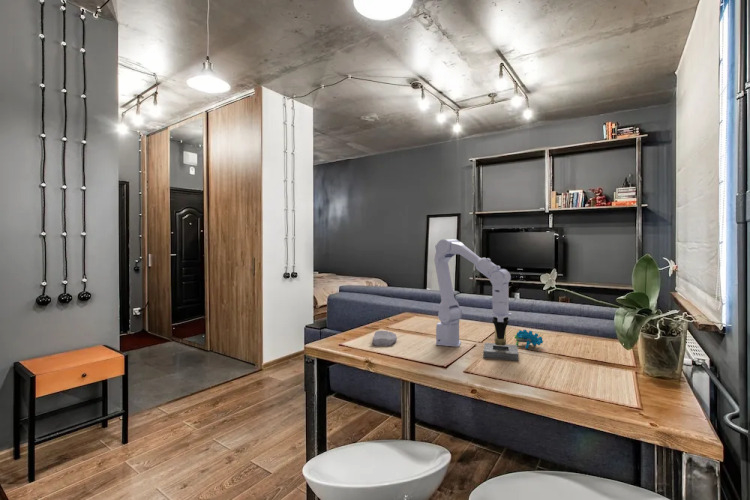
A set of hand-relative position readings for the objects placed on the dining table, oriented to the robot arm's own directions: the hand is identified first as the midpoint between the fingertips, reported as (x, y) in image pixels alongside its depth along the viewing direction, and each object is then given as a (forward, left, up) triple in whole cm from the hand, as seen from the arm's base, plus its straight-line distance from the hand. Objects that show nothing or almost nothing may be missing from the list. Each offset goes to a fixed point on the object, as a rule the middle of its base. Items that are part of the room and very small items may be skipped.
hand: (500, 337), depth 136 cm
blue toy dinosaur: (+11, +14, -7) cm, 19 cm away
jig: (0, 0, -7) cm, 7 cm away
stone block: (-47, +4, -7) cm, 48 cm away
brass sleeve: (0, 0, -3) cm, 3 cm away
